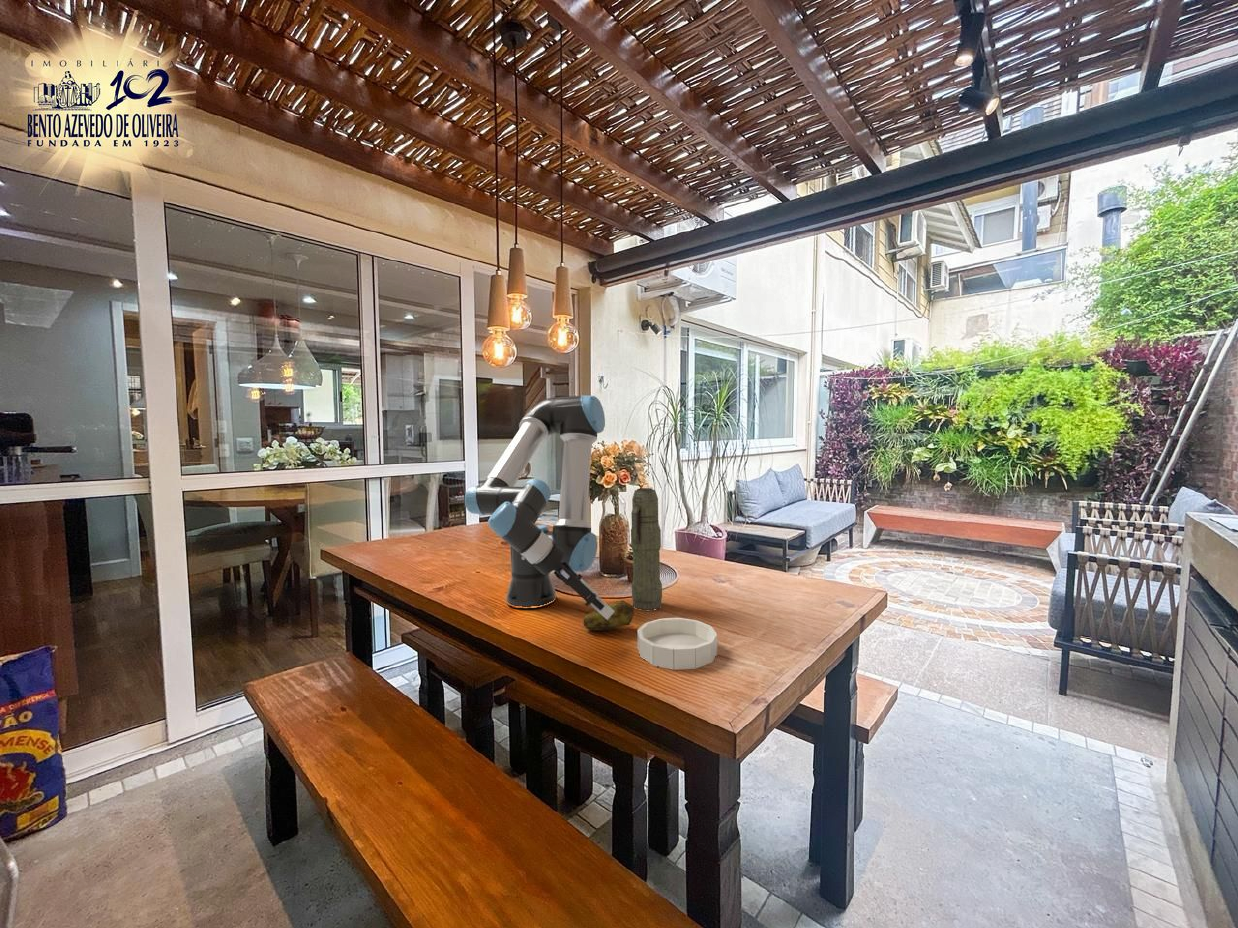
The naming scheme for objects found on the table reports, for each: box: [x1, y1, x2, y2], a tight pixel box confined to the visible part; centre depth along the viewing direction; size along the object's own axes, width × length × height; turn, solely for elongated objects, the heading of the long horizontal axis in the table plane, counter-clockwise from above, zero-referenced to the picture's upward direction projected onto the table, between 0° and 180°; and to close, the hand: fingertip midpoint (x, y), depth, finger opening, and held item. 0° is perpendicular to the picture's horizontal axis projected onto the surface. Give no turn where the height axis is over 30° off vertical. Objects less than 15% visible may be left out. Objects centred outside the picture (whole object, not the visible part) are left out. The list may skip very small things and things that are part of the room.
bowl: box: [636, 617, 718, 671], centre depth 114 cm, size 18×18×4 cm
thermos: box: [630, 487, 663, 611], centre depth 144 cm, size 9×12×35 cm
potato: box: [583, 600, 635, 632], centre depth 127 cm, size 8×13×8 cm, turn 64°
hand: (602, 606), depth 125 cm, fingers open, 13 cm apart
